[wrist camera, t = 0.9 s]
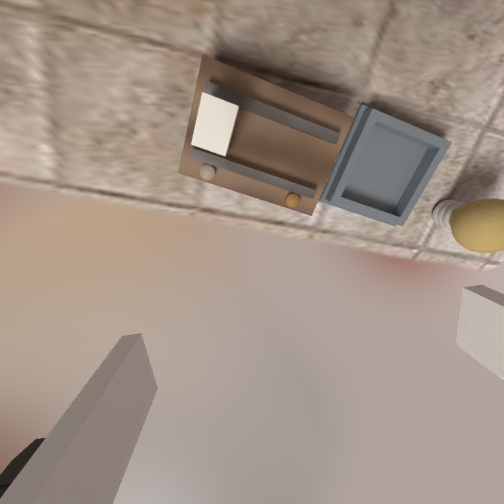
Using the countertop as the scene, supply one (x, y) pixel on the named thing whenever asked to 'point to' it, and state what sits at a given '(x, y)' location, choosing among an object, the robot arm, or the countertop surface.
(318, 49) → the countertop surface
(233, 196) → the countertop surface
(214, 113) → the toggle
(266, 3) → the countertop surface
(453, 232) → the light bulb
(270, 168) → the switch box
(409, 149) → the tray
